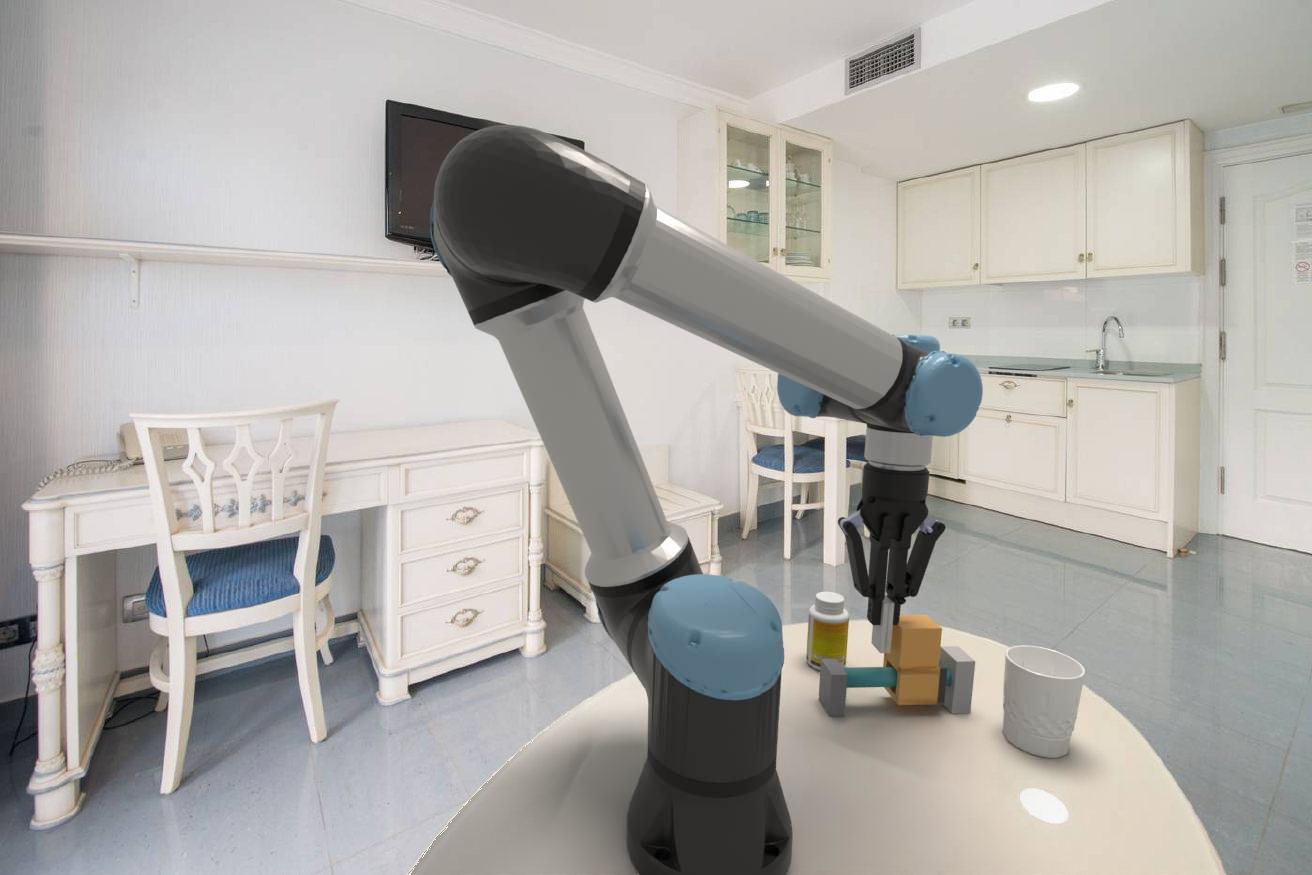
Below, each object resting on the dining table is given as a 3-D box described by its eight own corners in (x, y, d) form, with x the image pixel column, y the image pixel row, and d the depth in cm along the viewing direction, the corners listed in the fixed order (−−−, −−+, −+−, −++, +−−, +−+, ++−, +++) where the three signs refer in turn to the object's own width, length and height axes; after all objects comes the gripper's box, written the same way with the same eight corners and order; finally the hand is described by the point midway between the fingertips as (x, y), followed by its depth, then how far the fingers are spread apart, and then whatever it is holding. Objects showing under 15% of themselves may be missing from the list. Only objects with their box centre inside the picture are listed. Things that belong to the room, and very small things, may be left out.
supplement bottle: (853, 672, 90) (857, 603, 89) (816, 675, 89) (820, 605, 88) (834, 653, 96) (838, 588, 94) (799, 656, 94) (803, 590, 93)
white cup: (1087, 766, 71) (1098, 682, 69) (1009, 756, 72) (1019, 673, 71) (1058, 725, 78) (1067, 649, 77) (988, 717, 80) (996, 641, 78)
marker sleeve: (898, 704, 79) (904, 630, 78) (881, 684, 84) (887, 613, 83) (936, 704, 80) (943, 629, 78) (918, 683, 84) (924, 613, 83)
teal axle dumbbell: (829, 717, 79) (833, 664, 78) (817, 697, 83) (821, 646, 82) (971, 714, 80) (976, 662, 79) (952, 694, 85) (956, 645, 84)
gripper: (932, 459, 81) (915, 634, 85) (833, 457, 80) (821, 634, 84) (964, 471, 74) (944, 662, 77) (856, 469, 73) (841, 663, 76)
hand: (880, 647), depth 81 cm, fingers closed
